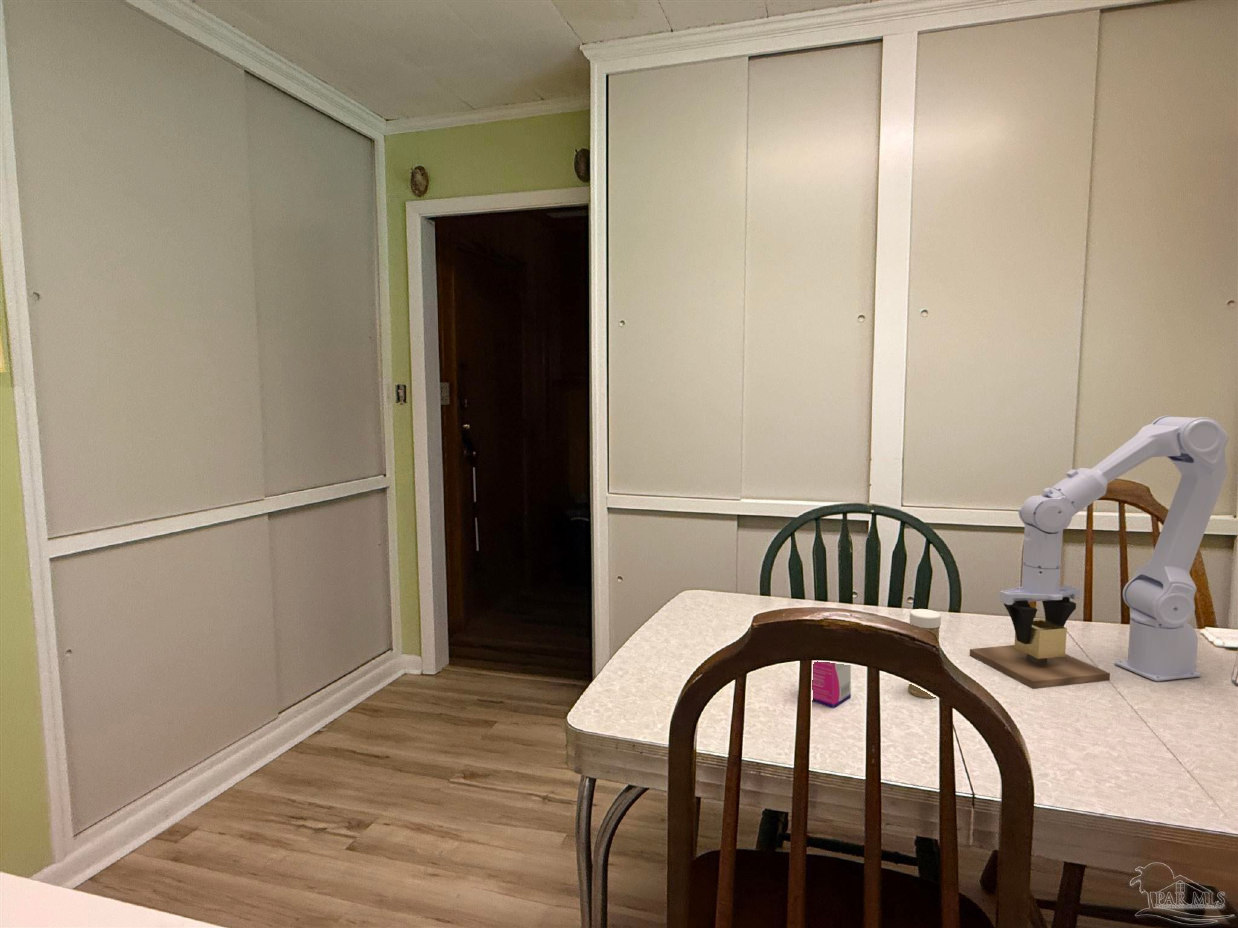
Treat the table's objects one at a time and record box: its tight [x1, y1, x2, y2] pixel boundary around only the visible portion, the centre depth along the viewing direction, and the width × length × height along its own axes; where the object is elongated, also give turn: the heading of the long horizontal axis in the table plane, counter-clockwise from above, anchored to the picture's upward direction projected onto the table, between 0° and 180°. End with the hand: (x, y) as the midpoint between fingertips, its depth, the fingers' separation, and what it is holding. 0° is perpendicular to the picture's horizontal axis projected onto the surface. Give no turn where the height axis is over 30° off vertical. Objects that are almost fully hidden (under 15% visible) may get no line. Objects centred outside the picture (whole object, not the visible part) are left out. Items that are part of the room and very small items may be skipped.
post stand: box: [969, 644, 1111, 689], centre depth 123 cm, size 15×15×5 cm
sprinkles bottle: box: [907, 608, 942, 699], centre depth 113 cm, size 5×5×13 cm
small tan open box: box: [1013, 617, 1068, 659], centre depth 122 cm, size 5×5×5 cm
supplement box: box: [812, 661, 852, 709], centre depth 111 cm, size 6×6×12 cm
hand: (1037, 640), depth 123 cm, fingers closed on small tan open box, 5 cm apart
